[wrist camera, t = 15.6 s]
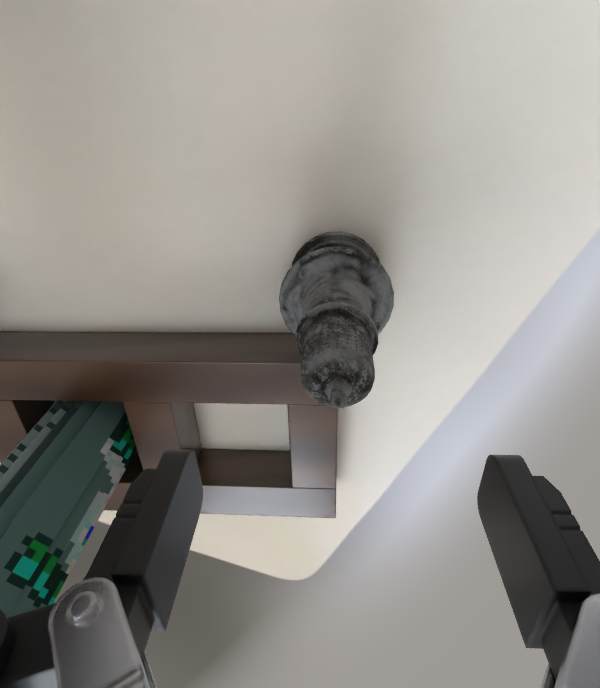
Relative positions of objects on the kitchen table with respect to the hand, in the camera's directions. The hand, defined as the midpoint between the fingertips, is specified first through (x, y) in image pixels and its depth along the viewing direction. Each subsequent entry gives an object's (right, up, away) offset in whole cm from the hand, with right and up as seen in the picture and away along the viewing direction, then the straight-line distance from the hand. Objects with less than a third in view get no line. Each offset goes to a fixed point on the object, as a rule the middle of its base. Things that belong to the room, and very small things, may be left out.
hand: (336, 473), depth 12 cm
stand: (-10, -1, +19) cm, 22 cm away
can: (-15, -1, +20) cm, 25 cm away
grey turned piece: (+1, +8, +13) cm, 16 cm away
